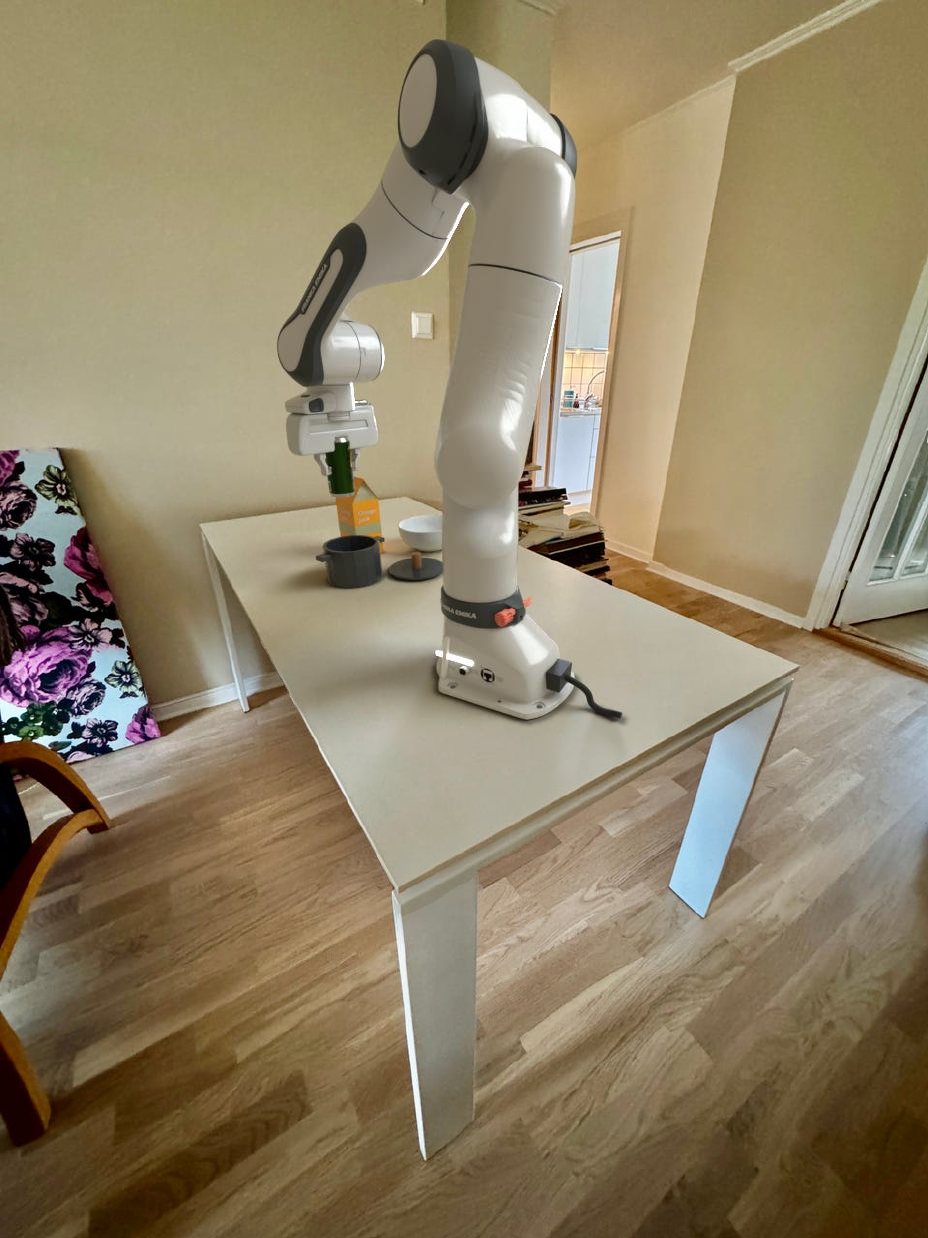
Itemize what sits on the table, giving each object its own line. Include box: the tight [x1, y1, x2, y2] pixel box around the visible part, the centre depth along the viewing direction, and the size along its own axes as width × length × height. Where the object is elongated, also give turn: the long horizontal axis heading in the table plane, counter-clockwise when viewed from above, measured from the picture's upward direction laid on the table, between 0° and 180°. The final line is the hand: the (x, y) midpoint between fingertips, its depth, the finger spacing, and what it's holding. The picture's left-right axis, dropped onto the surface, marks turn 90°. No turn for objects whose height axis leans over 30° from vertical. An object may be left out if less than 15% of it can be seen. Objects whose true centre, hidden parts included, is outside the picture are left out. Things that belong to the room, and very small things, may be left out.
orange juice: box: [335, 475, 384, 554], centre depth 126 cm, size 8×9×20 cm
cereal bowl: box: [397, 514, 442, 553], centre depth 131 cm, size 17×17×7 cm
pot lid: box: [388, 551, 443, 581], centre depth 116 cm, size 14×14×5 cm
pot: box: [315, 535, 386, 589], centre depth 112 cm, size 13×18×8 cm
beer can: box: [324, 436, 355, 498], centre depth 100 cm, size 5×5×12 cm
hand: (340, 473), depth 101 cm, fingers closed on beer can, 5 cm apart
